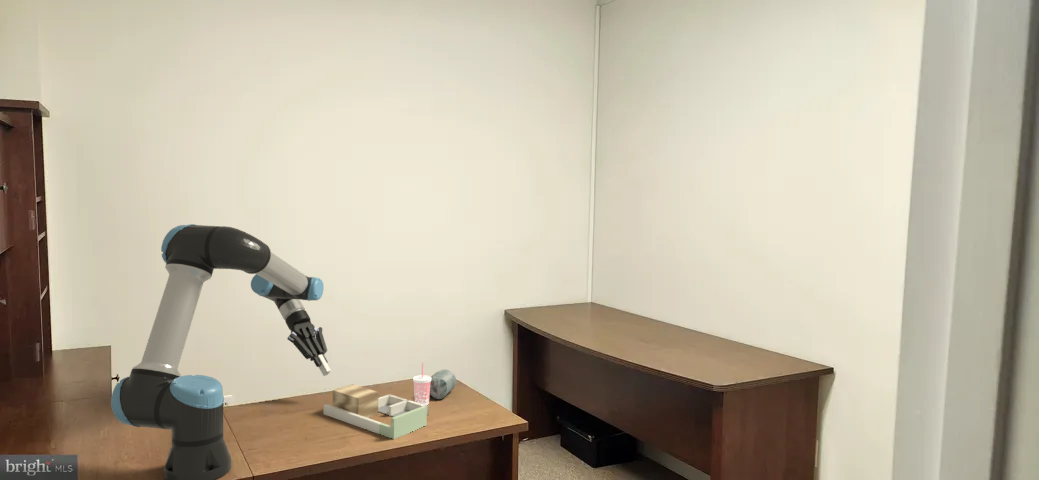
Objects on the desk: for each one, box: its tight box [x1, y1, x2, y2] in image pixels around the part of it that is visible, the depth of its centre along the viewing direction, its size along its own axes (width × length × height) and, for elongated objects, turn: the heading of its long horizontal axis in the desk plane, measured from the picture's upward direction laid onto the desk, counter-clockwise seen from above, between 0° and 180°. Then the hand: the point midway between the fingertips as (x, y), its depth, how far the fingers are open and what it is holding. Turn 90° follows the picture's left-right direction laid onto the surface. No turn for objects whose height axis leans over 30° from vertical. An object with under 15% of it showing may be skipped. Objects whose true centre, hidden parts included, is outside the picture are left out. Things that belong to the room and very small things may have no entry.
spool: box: [430, 369, 457, 400], centre depth 231 cm, size 14×10×10 cm
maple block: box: [332, 384, 379, 419], centre depth 210 cm, size 12×8×8 cm, turn 54°
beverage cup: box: [412, 362, 432, 406], centre depth 220 cm, size 6×6×14 cm
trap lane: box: [323, 393, 429, 440], centre depth 208 cm, size 31×20×6 cm, turn 54°
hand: (327, 373), depth 219 cm, fingers closed
